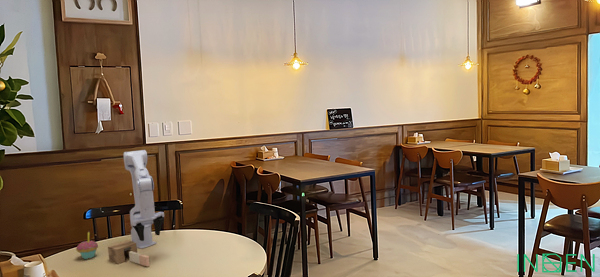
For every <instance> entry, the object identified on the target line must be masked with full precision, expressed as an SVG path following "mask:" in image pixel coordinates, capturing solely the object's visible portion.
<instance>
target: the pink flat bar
mask: <svg viewBox="0 0 600 277" xmlns="http://www.w3.org/2000/svg"><path fill="white" fill-rule="evenodd" d="M128 259H129V262H132V263H135V264H137V265H141V266H143V267H150V265H151V263H150V256H148V255H145V254H142V253H140V252H137V253H136V252H133V251H130V252H129V258H128Z"/></svg>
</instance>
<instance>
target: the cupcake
mask: <svg viewBox="0 0 600 277" xmlns="http://www.w3.org/2000/svg"><path fill="white" fill-rule="evenodd" d="M98 248H99V246H98V243H97V241H94V240H90V231H88V232H87V240H85V241H82V242H80V243H79V244H77V246H76V248H75V250H76V253H77V252H78V253H79V254H80V256H81V257H82V259H83V258H84V259H83V260H89V259H88V258H90V259H92V257H93V258H94V257H95V255H96V252H97V249H98Z"/></svg>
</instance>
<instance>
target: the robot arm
mask: <svg viewBox="0 0 600 277" xmlns="http://www.w3.org/2000/svg"><path fill="white" fill-rule="evenodd" d="M122 156H123V164H124V169H125V170H126V171H129V173H130V175H131V183H132V189H133V197H134V206H133V207H132V208H131V209H130V210H129V220H130V227H131V229H130V236H131V237H130V239H131V241H132V242H135V243H136V245H137V249H145V248H148V247H150V246H153V245H156V244H157V242H156V241H153V233H152V225H153V227H154V233H155V234H154V235H155V236H160V234H161V229H162V225H163V224H164V221H165V212H163V211H159V212H155V211H156V210H155V200H154V190H155V183H154V179H153V177H152V175H150V172H149V170H148V169H147V165H148V153H147V150H146V149H140V150H132V151H124V152H123V155H122Z"/></svg>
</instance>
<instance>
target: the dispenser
mask: <svg viewBox="0 0 600 277" xmlns="http://www.w3.org/2000/svg"><path fill="white" fill-rule="evenodd" d="M137 249H138V247H137V245H136V243H135V242H132V240H128V239H126V240H123V241H120V242H118V243H115V244H112V245H111V244H110V245H108V246H107V252H108V261H109V262H112V263H116V264H117V265H119V264H122V263H125V262H126V258H128V259H130V258H129V252H130V251H133V252H136V253H138V250H137Z"/></svg>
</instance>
